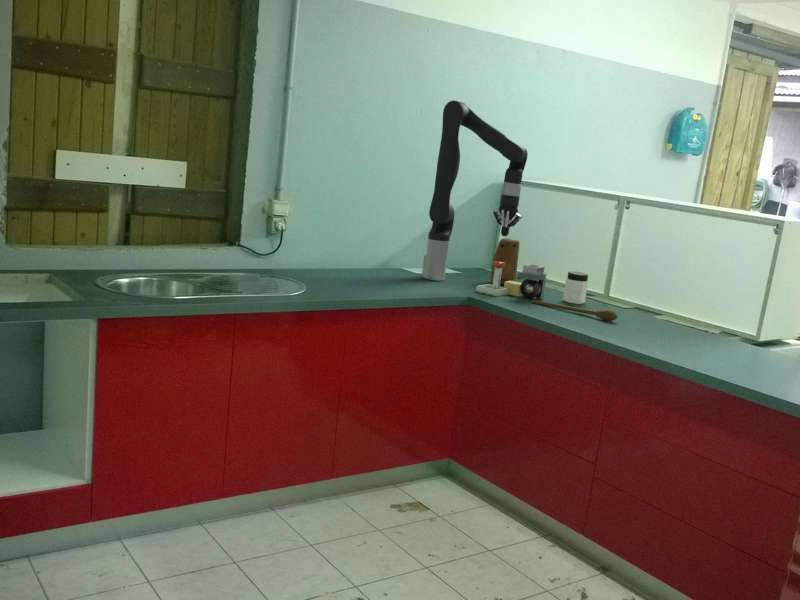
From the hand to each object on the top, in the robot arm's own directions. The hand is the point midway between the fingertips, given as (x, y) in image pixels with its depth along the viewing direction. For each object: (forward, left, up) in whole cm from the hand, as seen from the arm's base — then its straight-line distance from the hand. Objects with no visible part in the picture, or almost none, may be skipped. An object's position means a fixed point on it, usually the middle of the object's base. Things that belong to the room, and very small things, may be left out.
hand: (504, 235), depth 330 cm
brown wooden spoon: (+38, -6, -24) cm, 46 cm away
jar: (+28, +16, -24) cm, 40 cm away
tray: (+2, -6, -23) cm, 24 cm away
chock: (+7, +2, -23) cm, 25 cm away
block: (-8, +18, -24) cm, 30 cm away
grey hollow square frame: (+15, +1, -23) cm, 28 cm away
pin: (+2, -4, -23) cm, 23 cm away
